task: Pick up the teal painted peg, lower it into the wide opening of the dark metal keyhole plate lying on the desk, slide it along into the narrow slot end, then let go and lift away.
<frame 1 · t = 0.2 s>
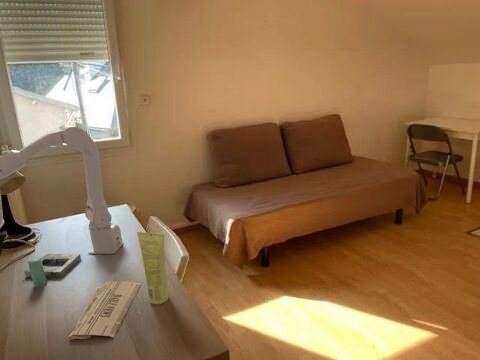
keyhole plate: (54, 268, 115), on the table
peg: (40, 284, 107), on the table
newspaper: (105, 313, 93), on the table
tube: (159, 300, 96), on the table
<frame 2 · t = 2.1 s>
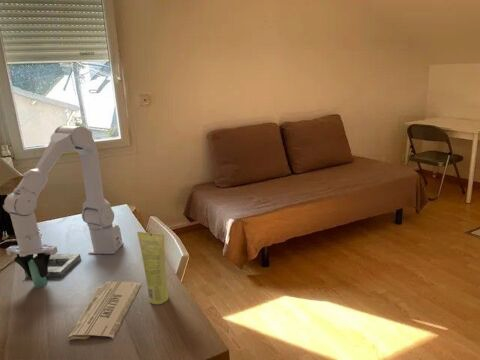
hand: (38, 275, 106), 3 cm above the table, tool pointing down, fingers closed on peg, 3 cm apart
peg: (40, 284, 107), on the table, touching gripper
everything else where it was.
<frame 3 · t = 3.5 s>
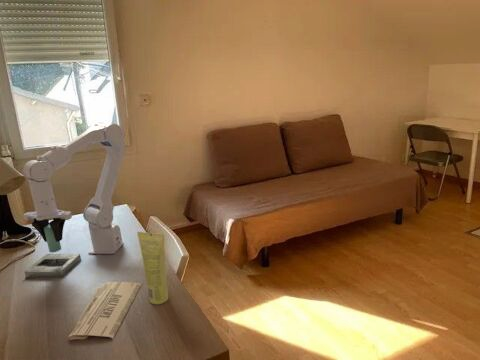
hand: (53, 240, 112), 10 cm above the table, tool pointing down, fingers closed on peg, 3 cm apart
peg: (55, 249, 113), point 7 cm above the table, touching gripper
everything else where it was.
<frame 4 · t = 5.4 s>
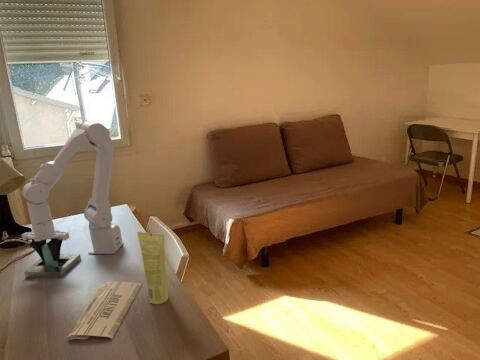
hand: (51, 259, 114), 3 cm above the table, tool pointing down, fingers closed on peg, 3 cm apart
peg: (52, 268, 115), resting in keyhole plate, touching gripper
everything else where it was.
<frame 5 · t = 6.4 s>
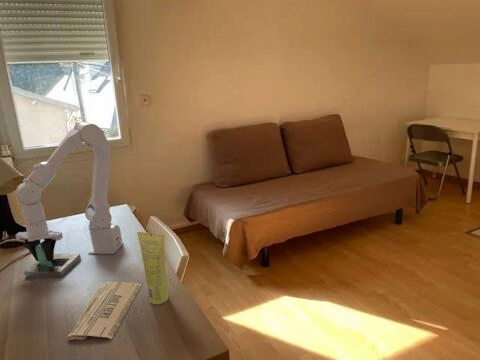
hand: (45, 259, 115), 3 cm above the table, tool pointing down, fingers closed on peg, 3 cm apart
peg: (46, 268, 115), resting in keyhole plate, touching gripper
everything else where it was.
when the fingers open (3 cm above the table, at t = 6.9 s): peg stays where it is, resting in keyhole plate.
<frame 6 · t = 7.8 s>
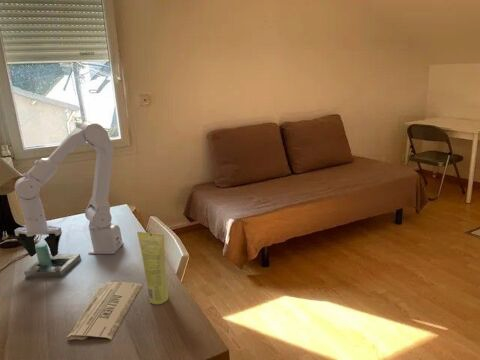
hand: (44, 255, 114), 5 cm above the table, tool pointing down, fingers open, 7 cm apart
peg: (46, 268, 115), resting in keyhole plate
everything else where it was.
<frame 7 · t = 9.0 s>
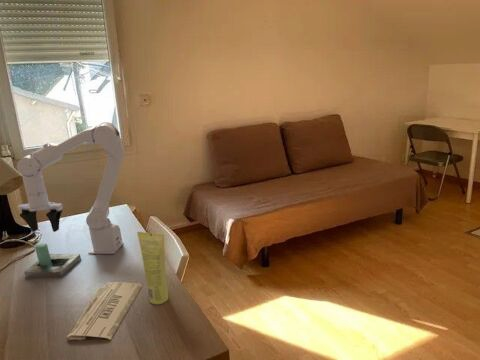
hand: (45, 230, 120), 10 cm above the table, tool pointing down, fingers open, 7 cm apart
nothing on the table moved.
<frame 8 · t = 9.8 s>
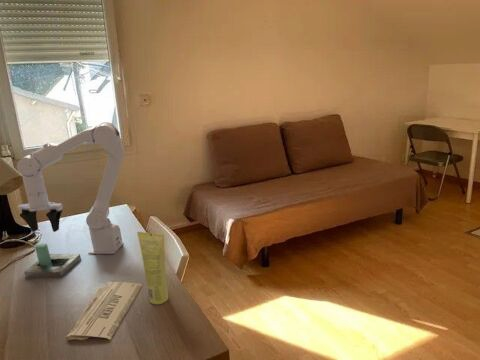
hand: (45, 230, 120), 10 cm above the table, tool pointing down, fingers open, 7 cm apart
nothing on the table moved.
at the end: peg 0.2 cm from the target spot on the keyhole plate, point 0.0 cm above the keyhole plate's base; peg tilted 0°; the gripper is holding nothing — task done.
